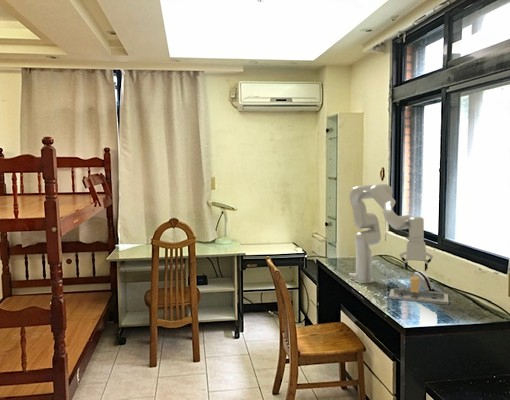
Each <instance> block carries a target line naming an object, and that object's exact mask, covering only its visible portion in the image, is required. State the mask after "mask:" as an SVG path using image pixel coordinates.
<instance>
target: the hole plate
mask: <svg viewBox="0 0 510 400" xmlns="http://www.w3.org/2000/svg"><path fill="white" fill-rule="evenodd" d="M388 299H392V300H400V301H410V302H411V301H412V302H419V303H429V304H438V305H448V306H449V304H450V303H449V295H448V293H444V297H437V296H427V295H417V294H415V296H414V294H407V293H404V294H403V295H400V294H399V293H397V292H394V288H391V289H390V292H389V295H388Z"/></svg>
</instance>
